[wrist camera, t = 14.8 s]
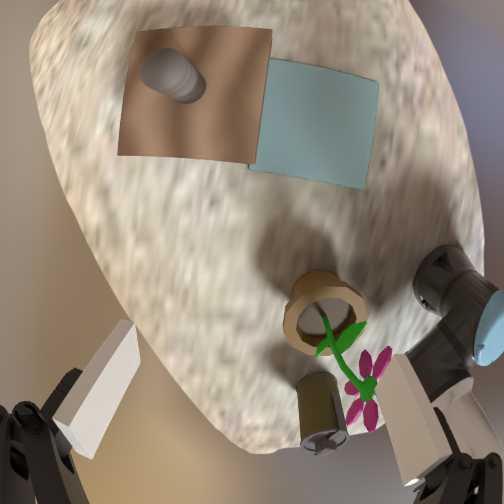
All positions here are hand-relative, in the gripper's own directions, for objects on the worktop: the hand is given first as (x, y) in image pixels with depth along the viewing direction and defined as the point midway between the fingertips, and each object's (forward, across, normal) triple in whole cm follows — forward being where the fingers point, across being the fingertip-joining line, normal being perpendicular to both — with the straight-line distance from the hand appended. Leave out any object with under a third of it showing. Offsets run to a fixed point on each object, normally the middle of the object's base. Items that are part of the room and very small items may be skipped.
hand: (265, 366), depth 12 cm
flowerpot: (+37, -12, +15) cm, 42 cm away
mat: (+37, -6, -16) cm, 40 cm away
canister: (+37, -19, +41) cm, 58 cm away
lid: (+25, +11, -16) cm, 32 cm away
